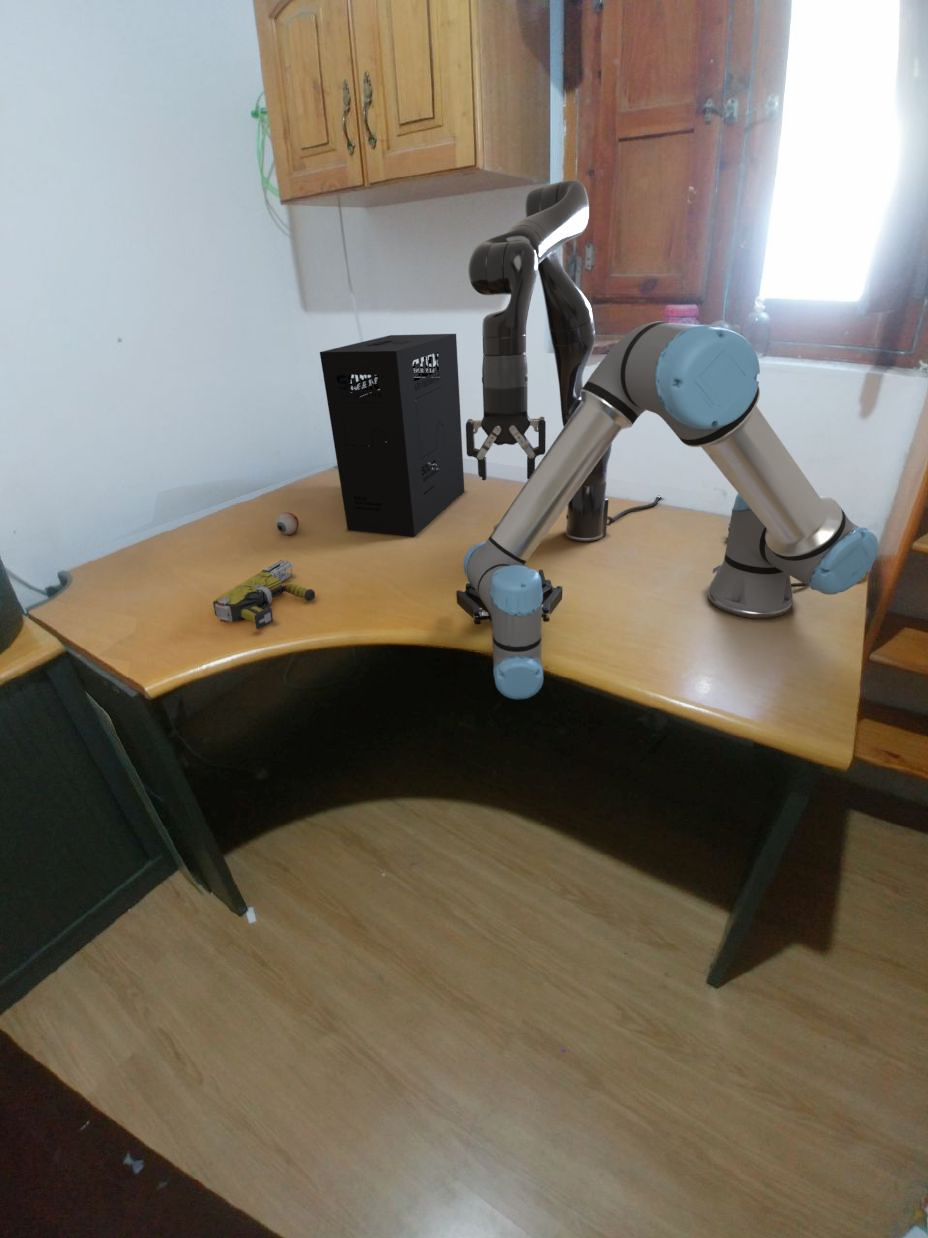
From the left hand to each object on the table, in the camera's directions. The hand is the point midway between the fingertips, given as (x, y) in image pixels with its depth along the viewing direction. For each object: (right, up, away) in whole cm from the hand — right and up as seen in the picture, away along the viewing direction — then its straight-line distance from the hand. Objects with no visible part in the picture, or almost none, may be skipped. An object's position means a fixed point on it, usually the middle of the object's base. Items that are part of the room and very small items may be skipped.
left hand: (506, 478), depth 109 cm
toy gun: (-48, -22, +21) cm, 57 cm away
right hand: (+1, -17, +13) cm, 22 cm away
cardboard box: (-24, +7, +68) cm, 73 cm away
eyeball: (-56, -2, +56) cm, 79 cm away
